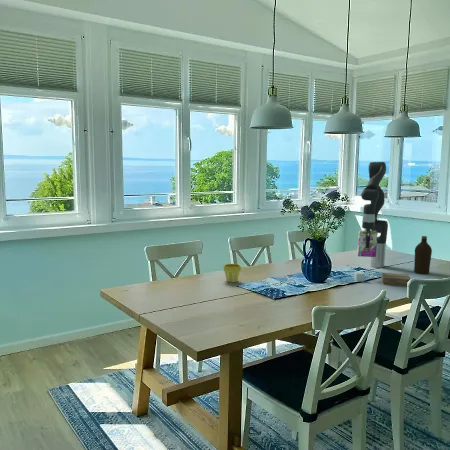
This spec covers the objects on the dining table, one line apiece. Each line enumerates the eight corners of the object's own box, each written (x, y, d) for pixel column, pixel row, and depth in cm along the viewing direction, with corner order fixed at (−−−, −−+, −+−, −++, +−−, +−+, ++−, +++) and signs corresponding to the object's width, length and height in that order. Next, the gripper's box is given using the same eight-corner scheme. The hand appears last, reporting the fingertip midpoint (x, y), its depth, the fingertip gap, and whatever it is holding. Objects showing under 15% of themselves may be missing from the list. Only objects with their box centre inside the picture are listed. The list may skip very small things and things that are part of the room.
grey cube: (353, 279, 296) (354, 271, 295) (361, 279, 296) (362, 271, 295) (356, 281, 291) (356, 273, 290) (364, 281, 291) (364, 273, 290)
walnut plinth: (381, 278, 299) (381, 272, 298) (407, 280, 295) (408, 274, 294) (383, 284, 285) (383, 277, 285) (410, 286, 282) (411, 280, 281)
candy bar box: (358, 256, 297) (359, 231, 295) (356, 255, 302) (358, 230, 300) (376, 257, 296) (377, 231, 294) (374, 255, 301) (376, 230, 299)
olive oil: (425, 275, 310) (428, 238, 306) (410, 272, 318) (412, 235, 314) (432, 273, 316) (436, 236, 313) (418, 270, 324) (420, 234, 321)
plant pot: (229, 277, 294) (230, 262, 293) (243, 280, 288) (244, 265, 287) (220, 281, 286) (220, 265, 284) (234, 284, 280) (234, 268, 278)
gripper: (362, 219, 304) (360, 244, 306) (362, 222, 290) (361, 248, 292) (374, 219, 302) (372, 245, 304) (375, 222, 288) (373, 249, 291)
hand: (367, 246), depth 298 cm, fingers closed on candy bar box, 5 cm apart
